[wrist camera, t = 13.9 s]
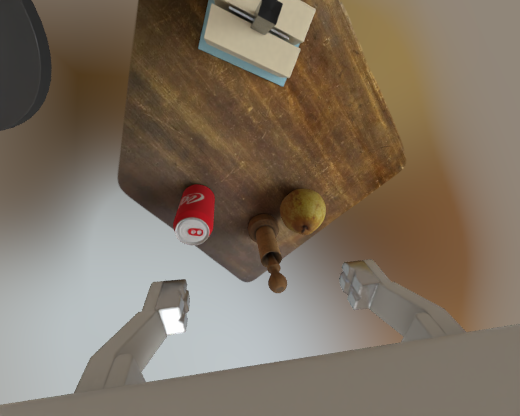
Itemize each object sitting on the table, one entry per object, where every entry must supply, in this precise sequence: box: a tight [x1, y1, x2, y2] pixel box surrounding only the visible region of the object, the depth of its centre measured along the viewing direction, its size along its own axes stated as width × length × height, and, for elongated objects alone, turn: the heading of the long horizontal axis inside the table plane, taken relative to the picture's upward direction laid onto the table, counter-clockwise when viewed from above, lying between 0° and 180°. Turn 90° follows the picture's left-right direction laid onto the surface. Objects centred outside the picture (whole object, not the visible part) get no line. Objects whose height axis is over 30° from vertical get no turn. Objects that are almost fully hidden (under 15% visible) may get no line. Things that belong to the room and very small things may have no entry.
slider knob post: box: [228, 0, 289, 41], centre depth 28 cm, size 8×2×13 cm, turn 69°
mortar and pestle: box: [248, 214, 287, 293], centre depth 44 cm, size 7×6×18 cm
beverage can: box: [173, 184, 215, 245], centre depth 41 cm, size 6×6×12 cm
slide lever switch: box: [198, 0, 316, 87], centre depth 31 cm, size 14×10×7 cm
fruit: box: [280, 189, 326, 235], centre depth 45 cm, size 9×9×12 cm
